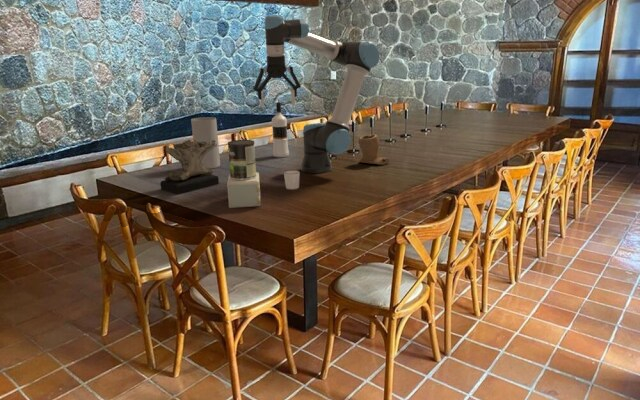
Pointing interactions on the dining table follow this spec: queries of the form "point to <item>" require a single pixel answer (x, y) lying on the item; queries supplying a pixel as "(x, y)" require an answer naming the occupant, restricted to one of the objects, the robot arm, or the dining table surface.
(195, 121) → the cylinder vase
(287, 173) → the shot glass
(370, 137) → the stone cup
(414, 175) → the dining table surface
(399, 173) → the dining table surface
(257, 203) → the cabinet
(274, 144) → the vodka
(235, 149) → the coffee can
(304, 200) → the dining table surface
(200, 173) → the coral
